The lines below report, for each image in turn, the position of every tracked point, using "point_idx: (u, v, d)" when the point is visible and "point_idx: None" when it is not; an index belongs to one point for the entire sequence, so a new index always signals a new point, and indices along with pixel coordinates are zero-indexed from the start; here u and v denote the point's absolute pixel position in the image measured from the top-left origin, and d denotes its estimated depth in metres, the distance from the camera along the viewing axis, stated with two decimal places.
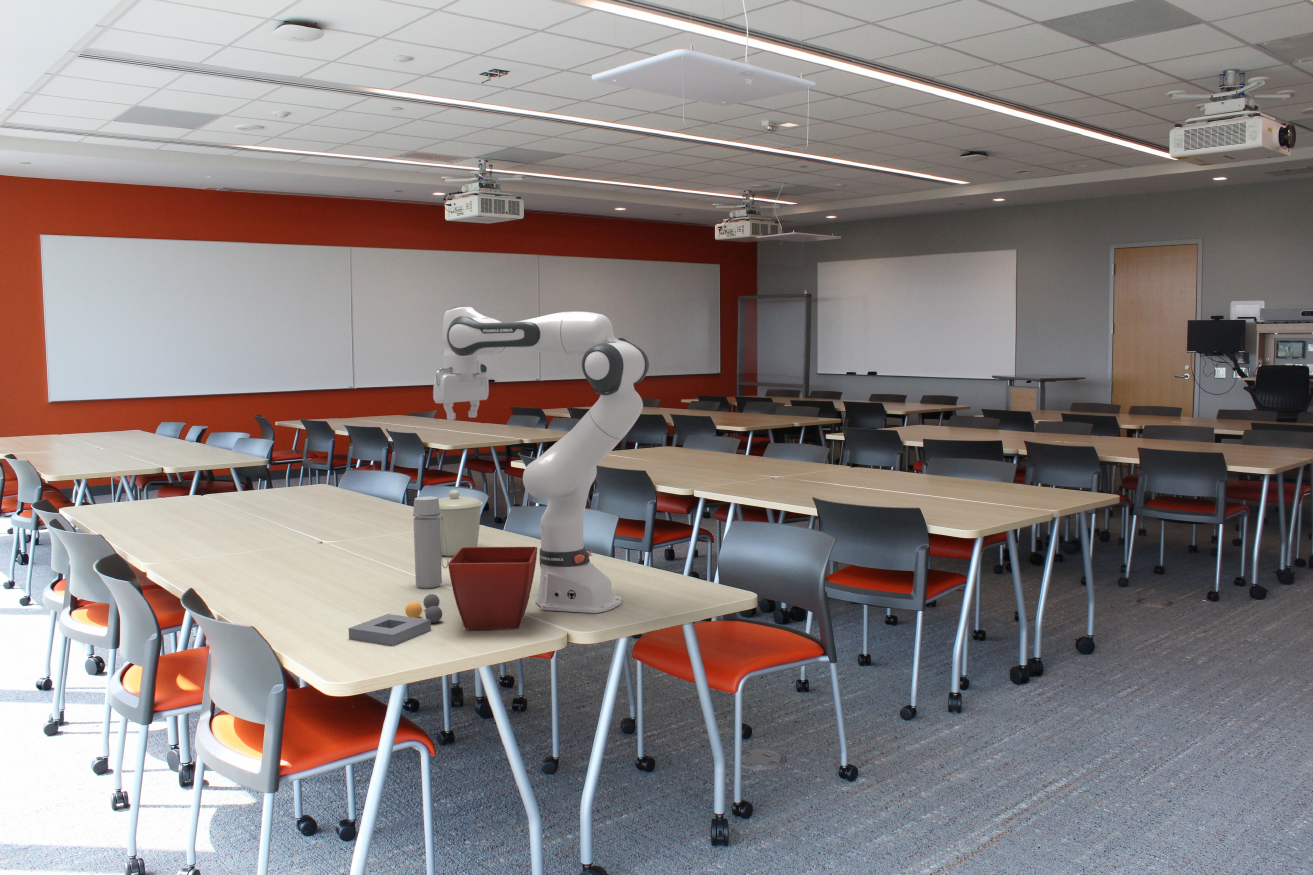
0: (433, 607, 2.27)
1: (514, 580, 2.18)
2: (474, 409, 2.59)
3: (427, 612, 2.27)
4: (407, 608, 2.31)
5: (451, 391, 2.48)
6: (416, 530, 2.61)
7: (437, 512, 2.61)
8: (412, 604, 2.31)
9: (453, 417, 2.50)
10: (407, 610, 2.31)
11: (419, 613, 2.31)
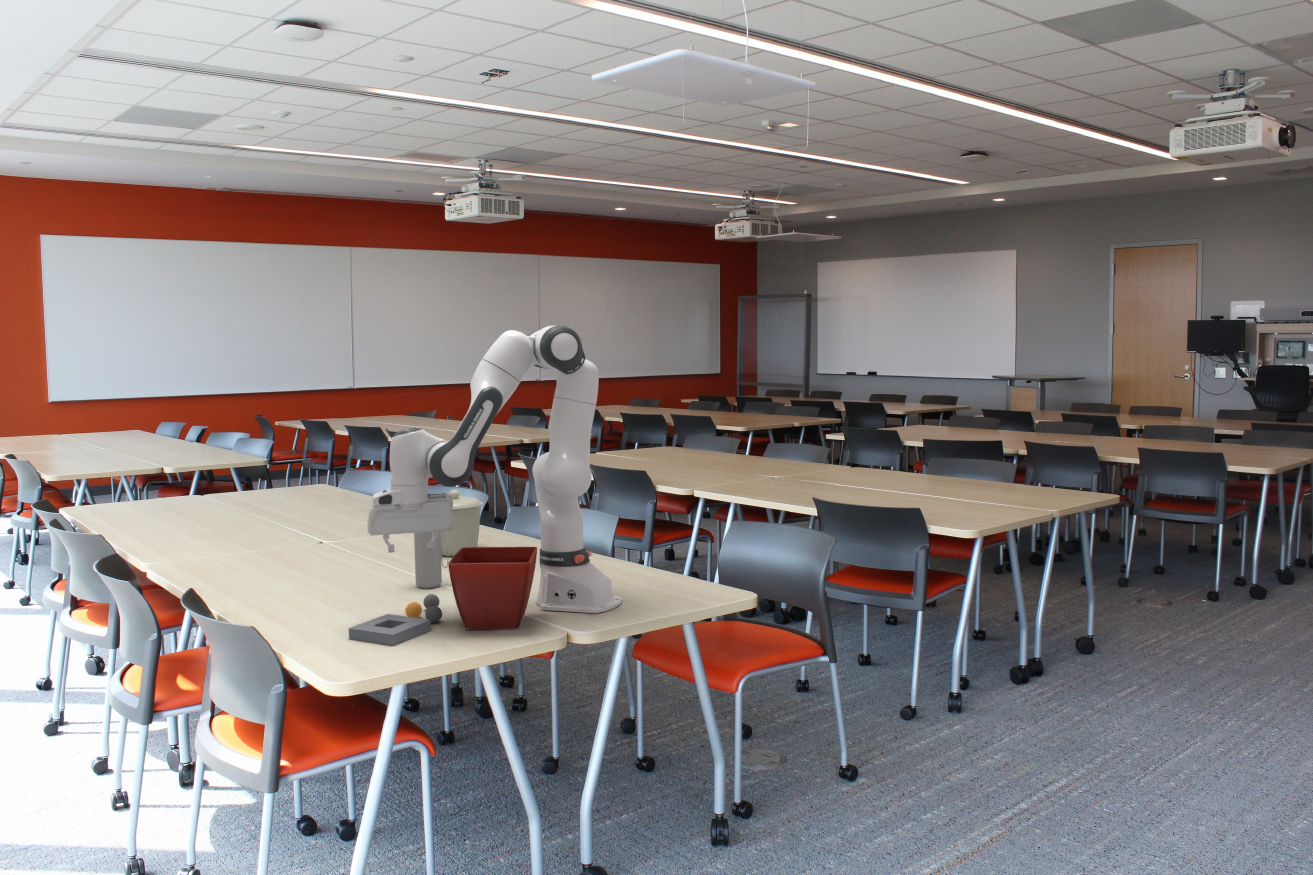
0: (433, 607, 2.27)
1: (514, 580, 2.18)
2: (389, 543, 2.30)
3: (427, 612, 2.27)
4: (407, 608, 2.31)
5: None
6: None
7: None
8: (412, 604, 2.31)
9: None
10: (407, 610, 2.31)
11: (419, 613, 2.31)
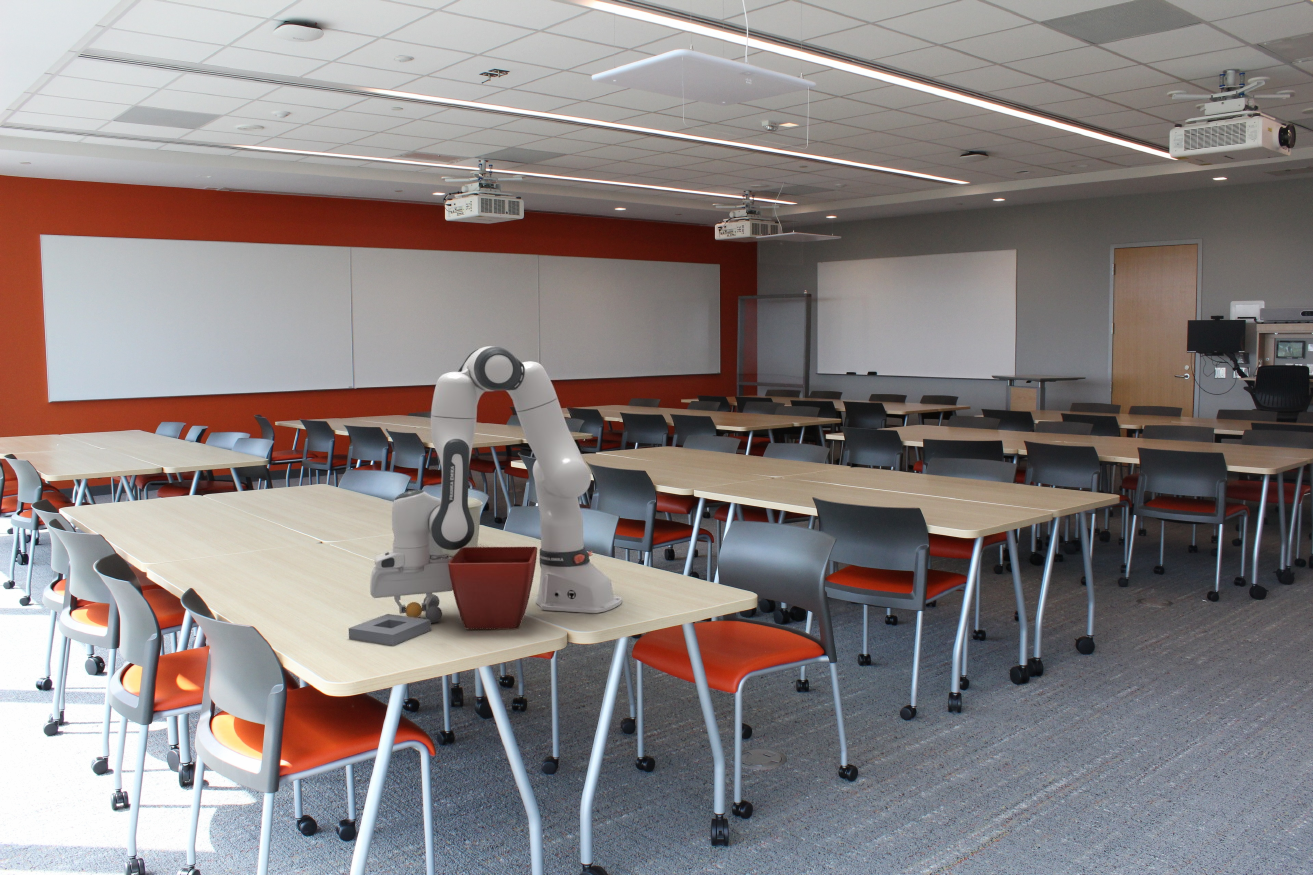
0: (433, 607, 2.27)
1: (514, 580, 2.18)
2: None
3: (427, 612, 2.27)
4: (407, 608, 2.31)
5: None
6: None
7: None
8: (412, 604, 2.31)
9: None
10: (407, 610, 2.31)
11: (419, 613, 2.31)
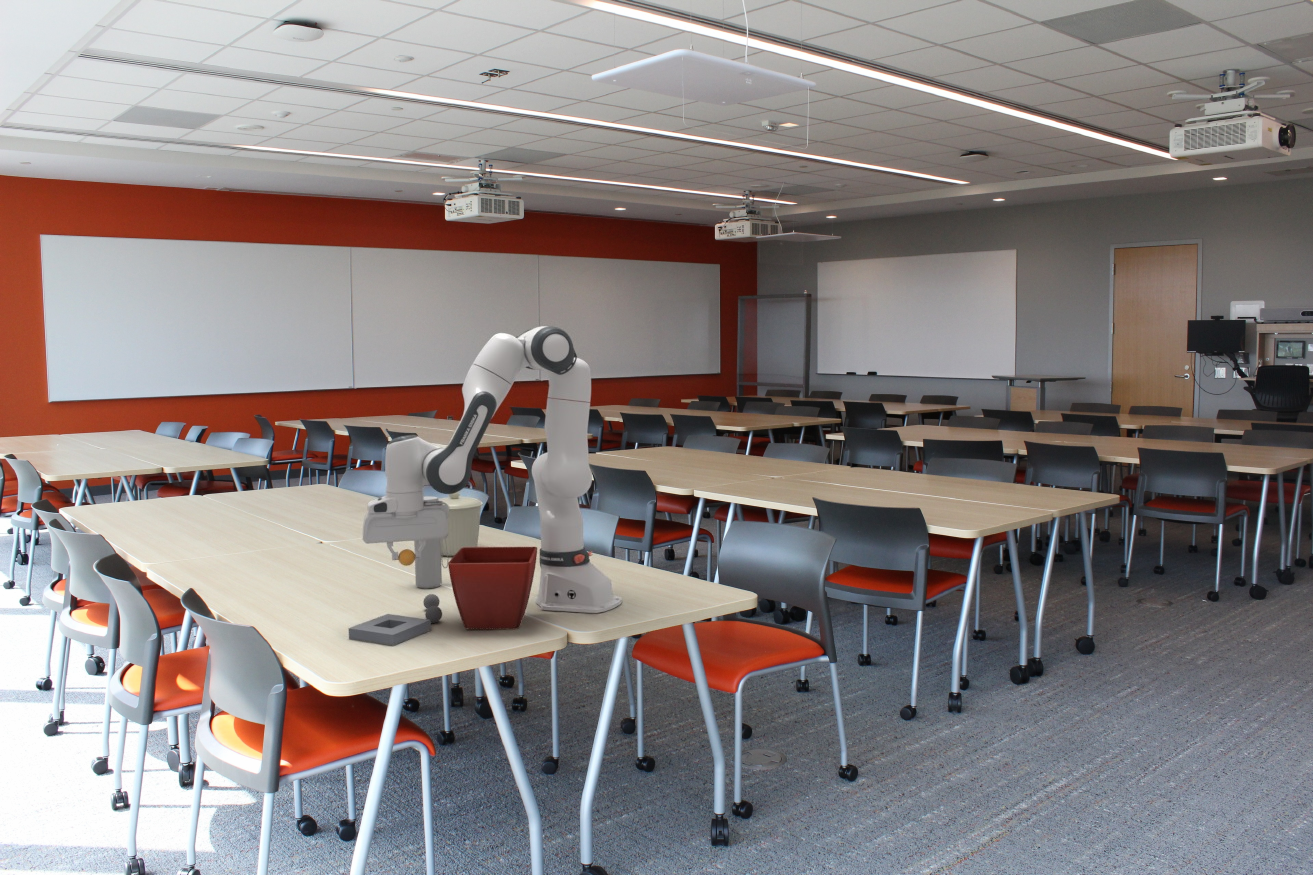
0: (433, 607, 2.27)
1: (514, 580, 2.18)
2: (393, 550, 2.28)
3: (427, 612, 2.27)
4: (400, 555, 2.27)
5: None
6: None
7: None
8: (405, 551, 2.28)
9: None
10: (400, 557, 2.27)
11: (412, 560, 2.28)
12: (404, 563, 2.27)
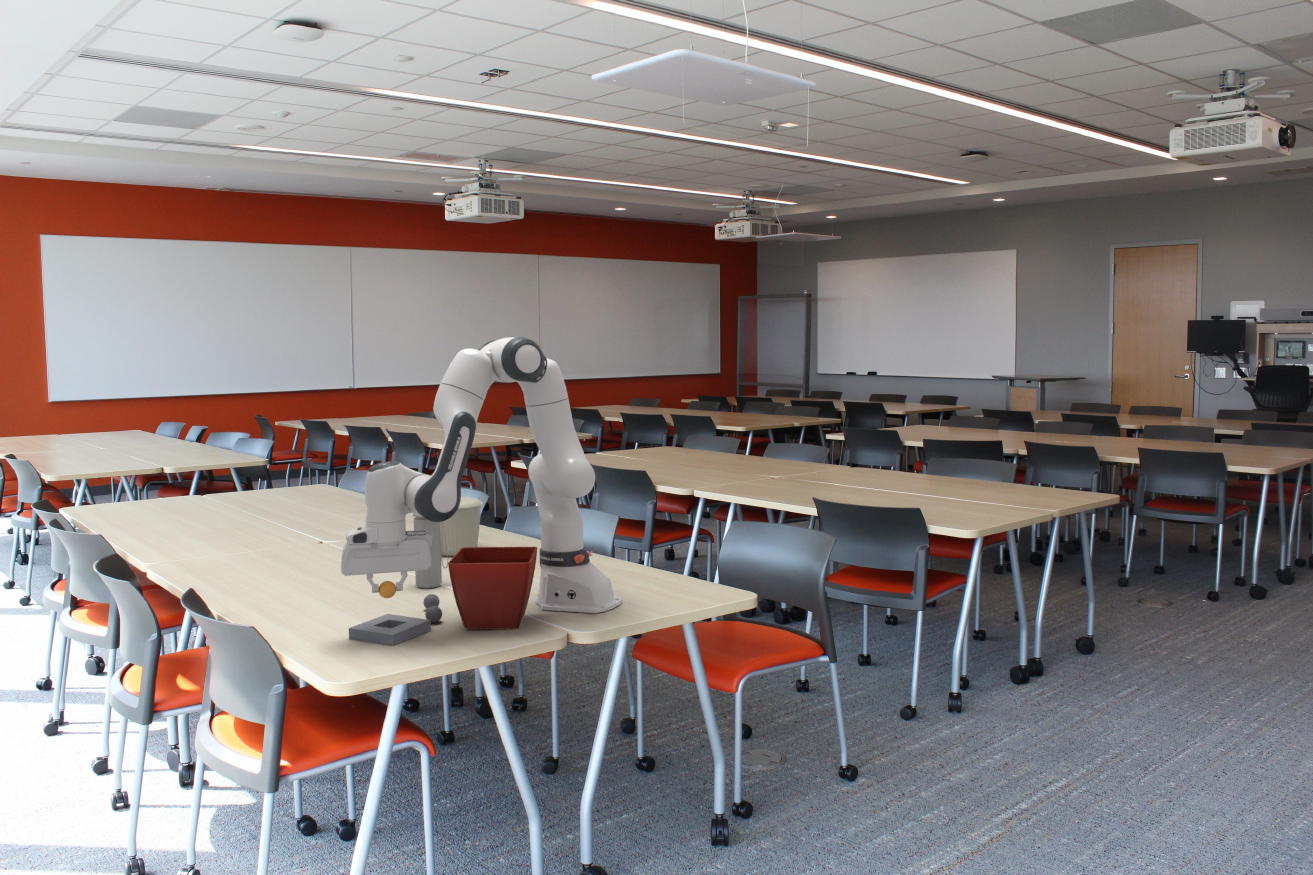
0: (433, 607, 2.27)
1: (514, 580, 2.18)
2: (373, 582, 2.17)
3: (427, 612, 2.27)
4: (380, 587, 2.17)
5: None
6: (416, 530, 2.61)
7: None
8: (386, 583, 2.17)
9: None
10: (380, 589, 2.16)
11: (393, 593, 2.17)
12: (384, 596, 2.16)
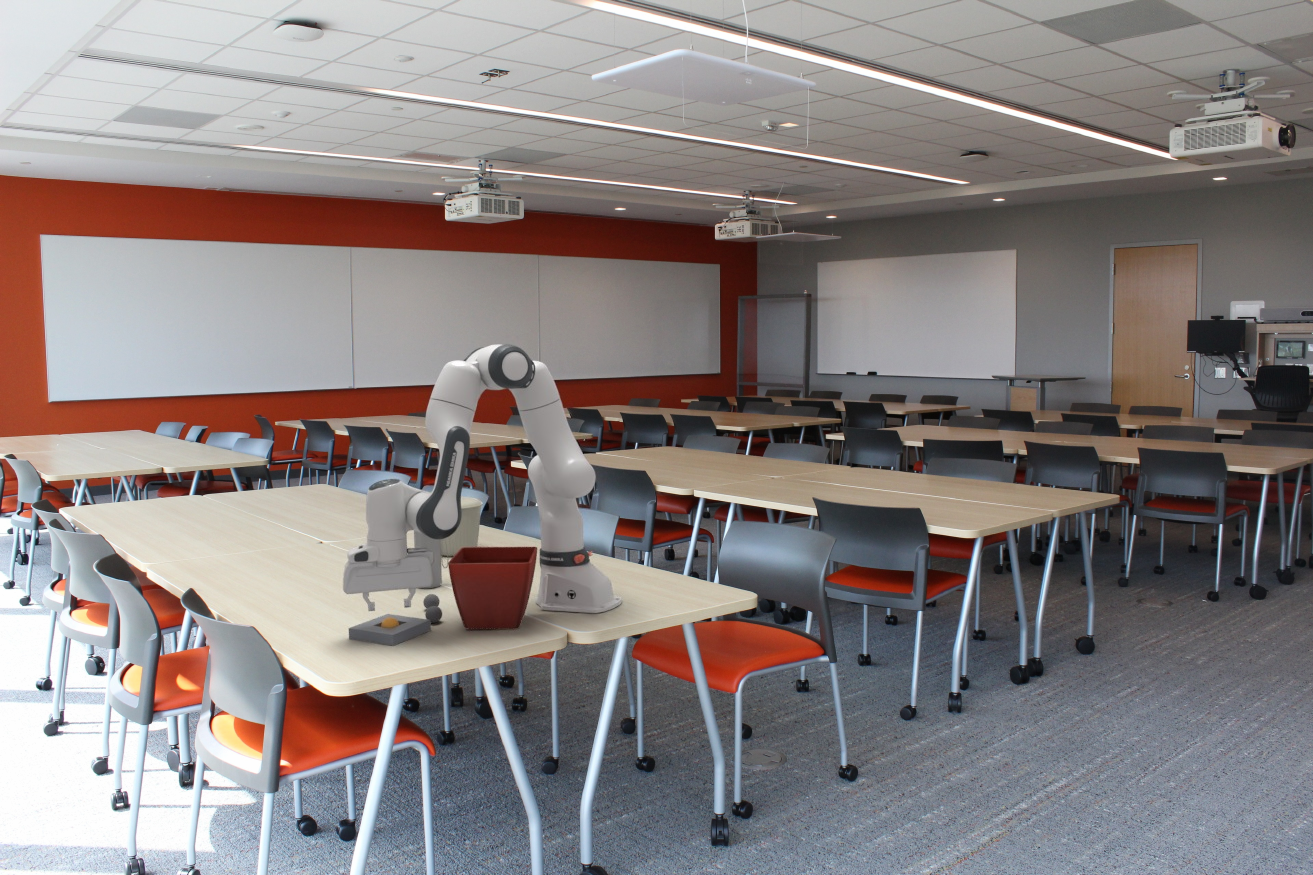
0: (433, 607, 2.27)
1: (514, 580, 2.18)
2: (369, 600, 2.17)
3: (427, 612, 2.27)
4: (383, 624, 2.17)
5: None
6: None
7: None
8: (388, 620, 2.18)
9: None
10: (383, 626, 2.17)
11: None
12: None
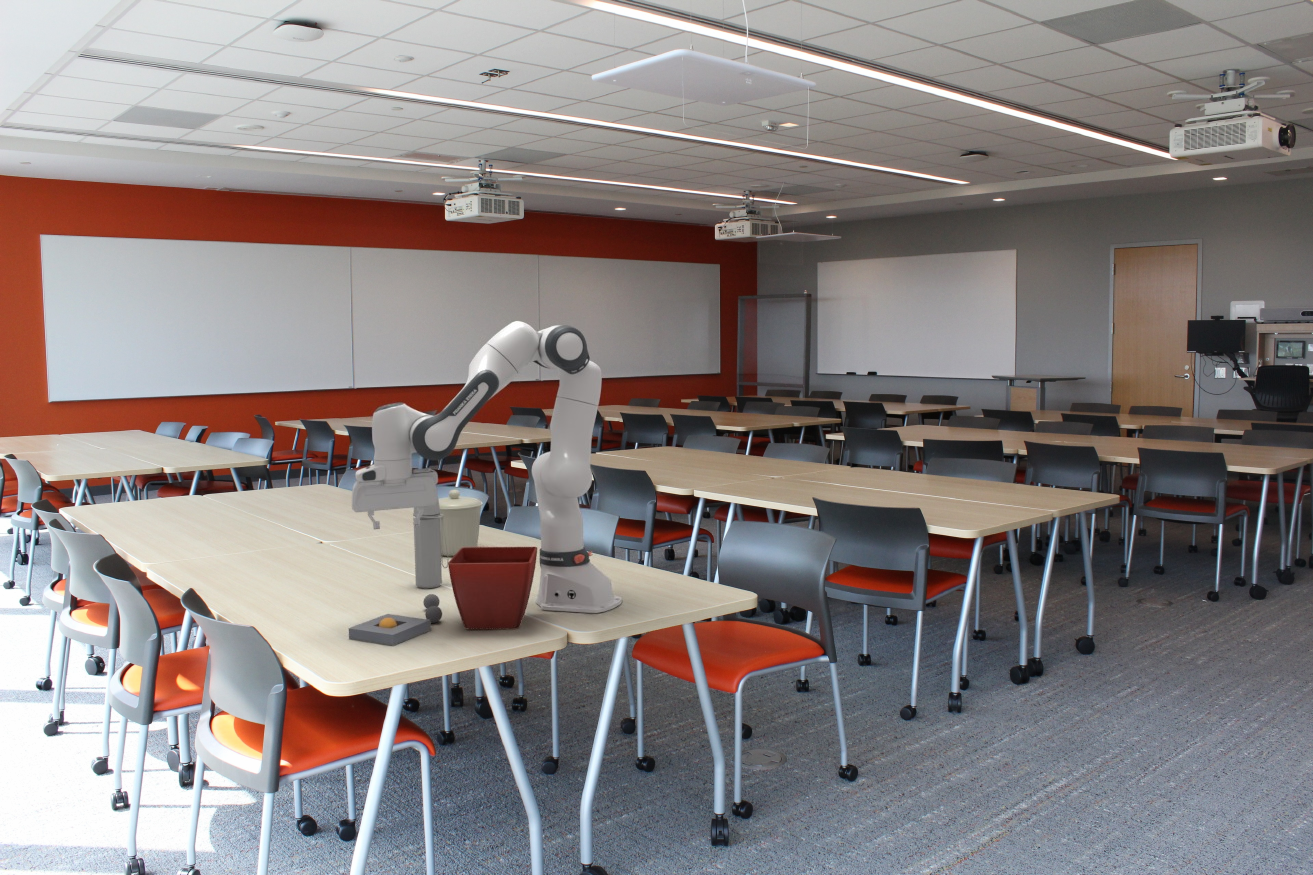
0: (433, 607, 2.27)
1: (514, 580, 2.18)
2: (374, 519, 2.27)
3: (427, 612, 2.27)
4: (380, 626, 2.17)
5: None
6: (416, 530, 2.61)
7: (437, 512, 2.61)
8: (384, 621, 2.17)
9: None
10: None
11: None
12: None
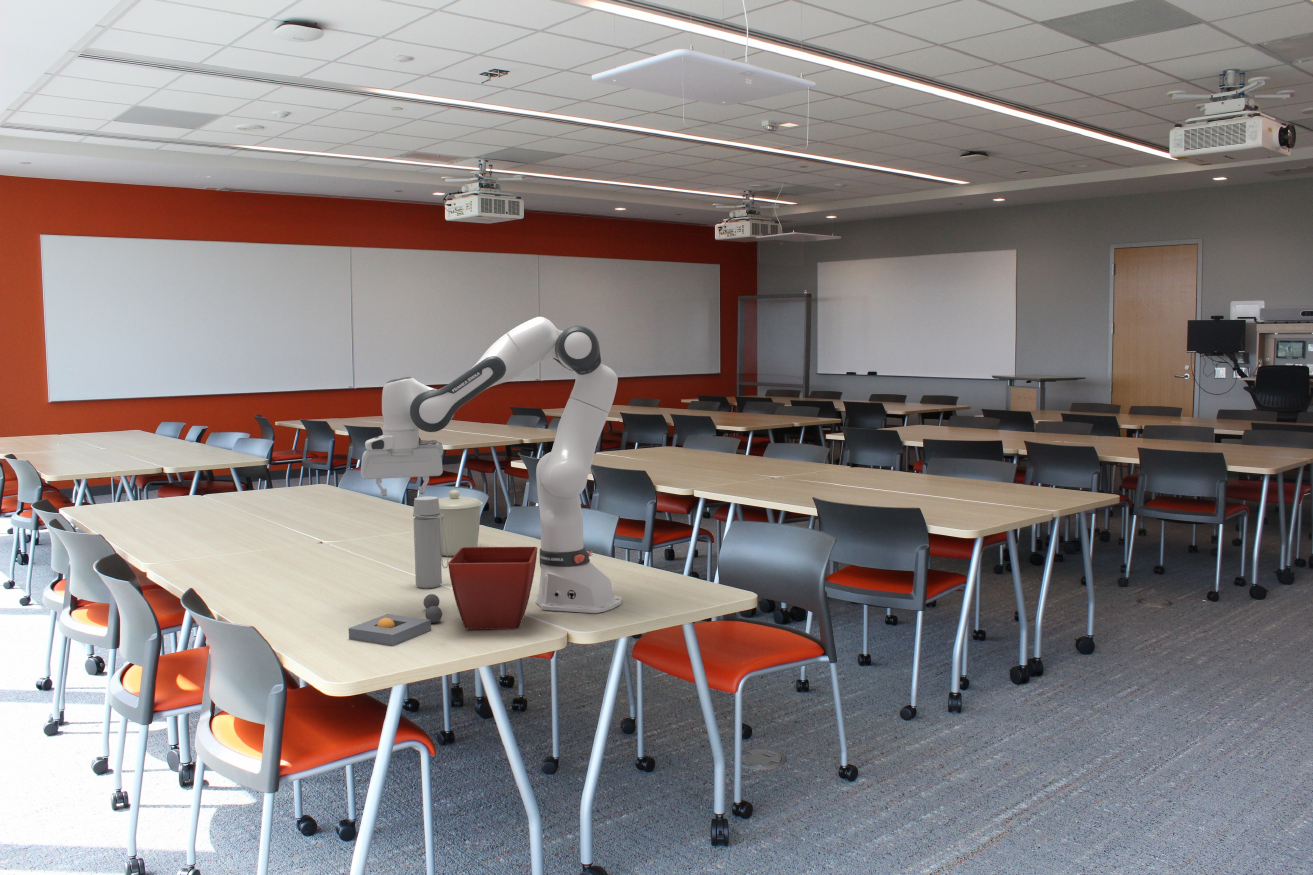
0: (433, 607, 2.27)
1: (514, 580, 2.18)
2: None
3: (427, 612, 2.27)
4: None
5: None
6: (416, 530, 2.61)
7: (437, 512, 2.61)
8: (380, 622, 2.17)
9: None
10: None
11: (392, 627, 2.18)
12: None
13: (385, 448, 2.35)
